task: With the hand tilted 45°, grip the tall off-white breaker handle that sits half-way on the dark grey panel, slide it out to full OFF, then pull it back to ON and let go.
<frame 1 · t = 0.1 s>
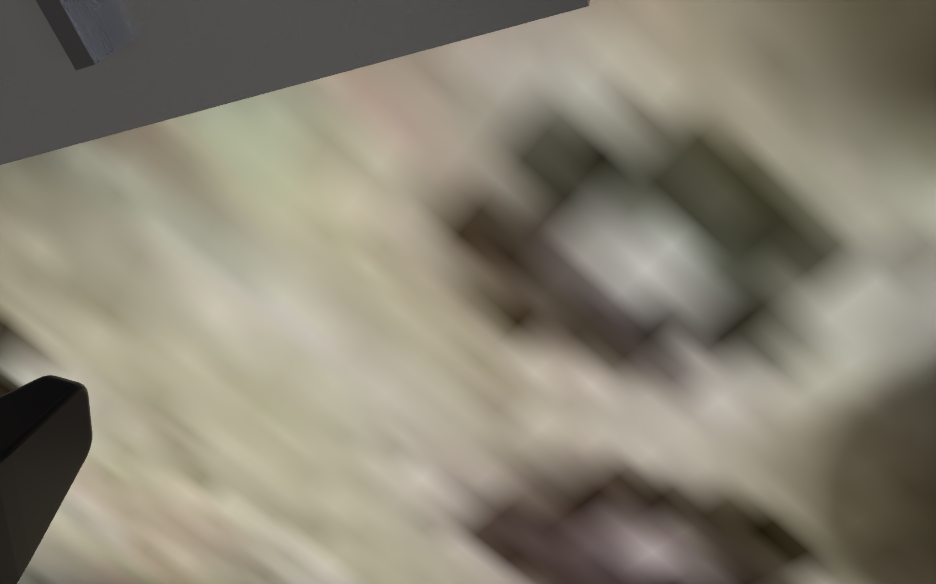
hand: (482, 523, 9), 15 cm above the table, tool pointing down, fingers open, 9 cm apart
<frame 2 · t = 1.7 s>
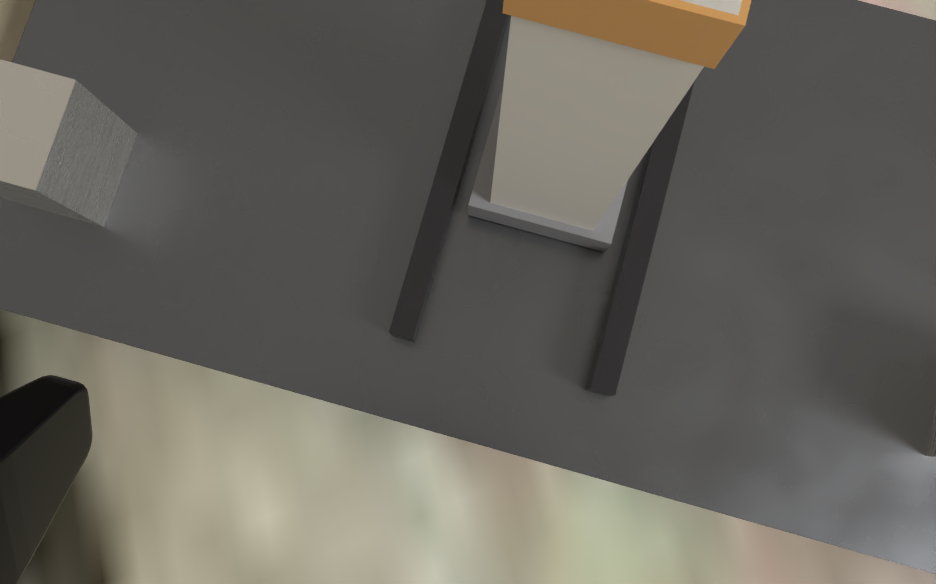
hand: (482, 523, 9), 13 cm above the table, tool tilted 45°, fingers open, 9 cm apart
breaker handle: (583, 87, 16), point 8 cm above the table, slide at 3.0 cm
breaker panel: (545, 194, 23), on the table
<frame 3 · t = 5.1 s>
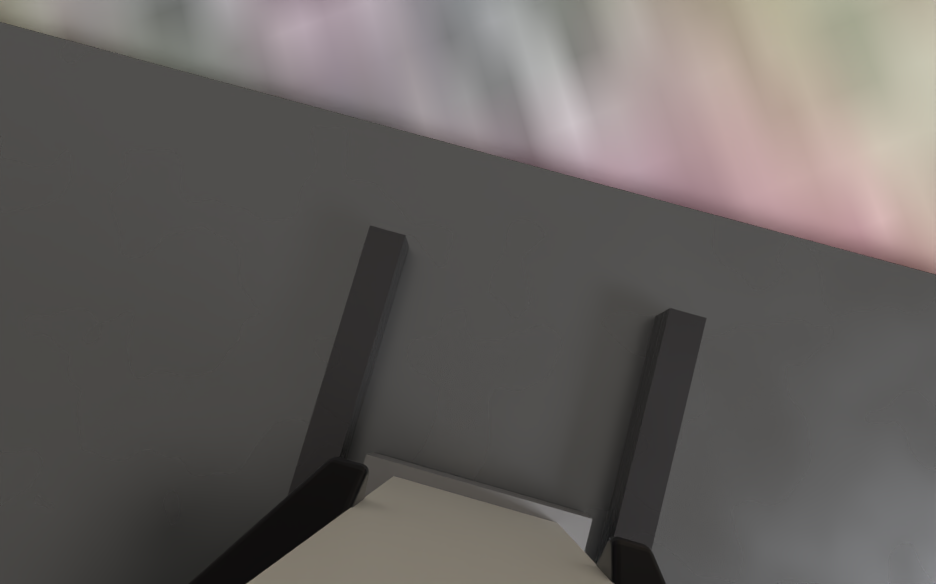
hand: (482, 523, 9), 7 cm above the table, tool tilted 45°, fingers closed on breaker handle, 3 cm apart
breaker panel: (454, 557, 15), on the table
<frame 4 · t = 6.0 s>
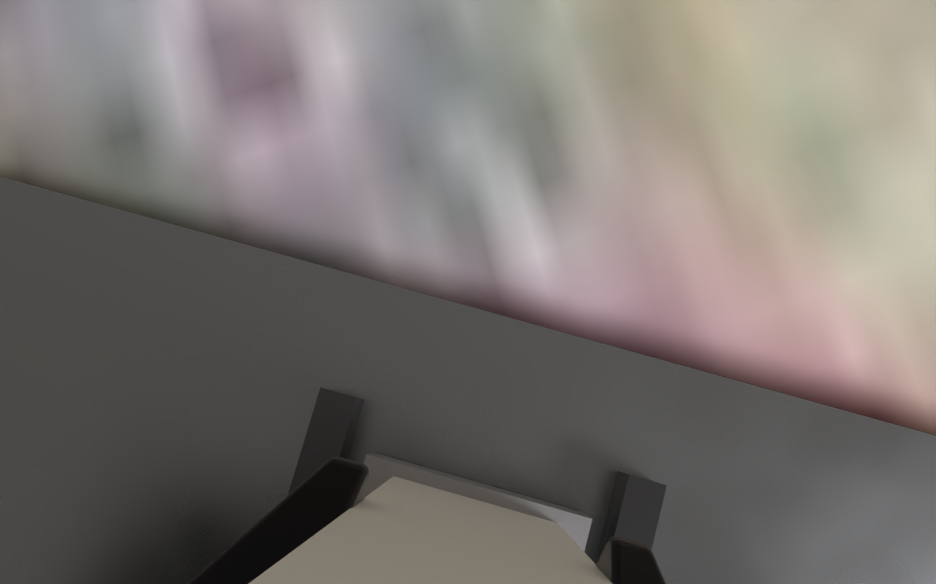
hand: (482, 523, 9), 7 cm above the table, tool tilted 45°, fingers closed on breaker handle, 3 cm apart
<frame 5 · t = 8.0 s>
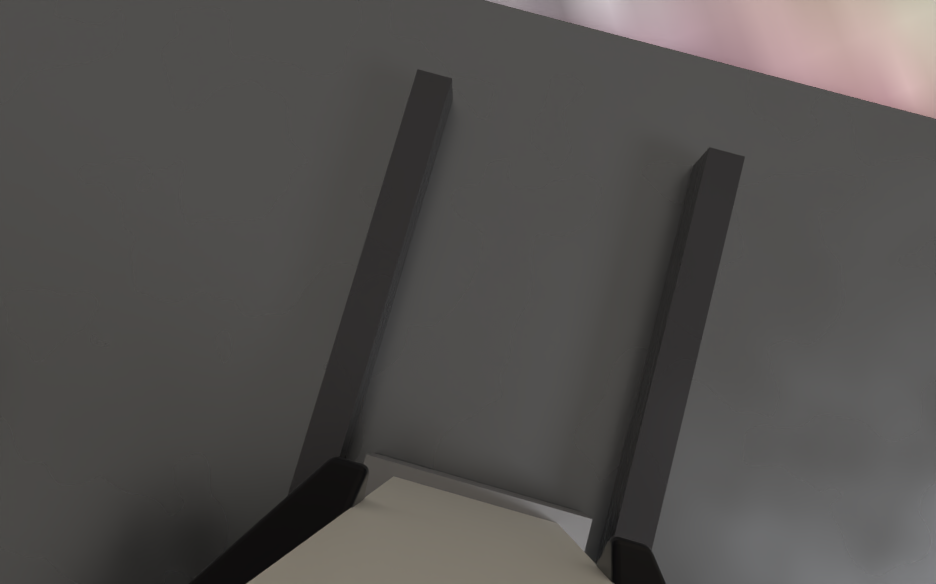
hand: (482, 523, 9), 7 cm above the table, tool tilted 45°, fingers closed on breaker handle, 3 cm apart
breaker panel: (494, 408, 16), on the table
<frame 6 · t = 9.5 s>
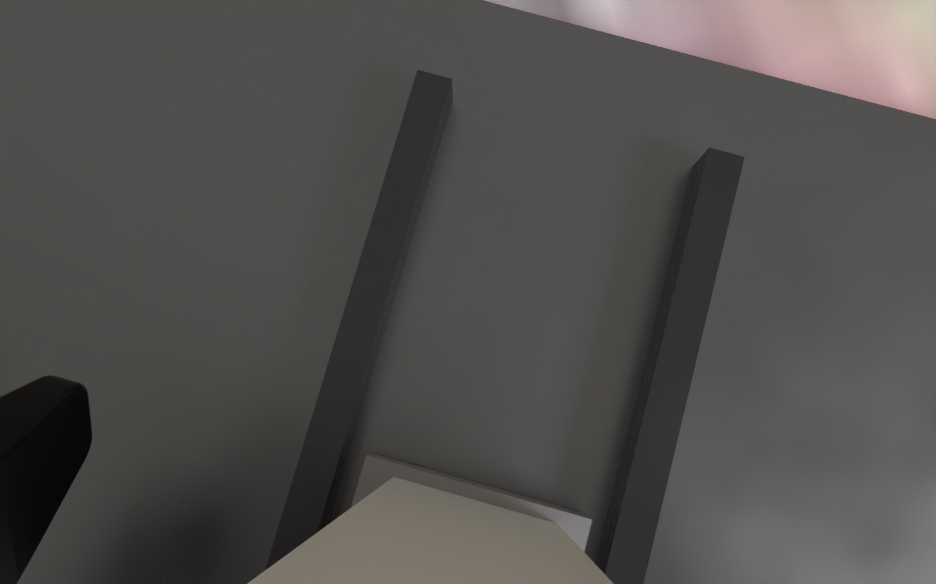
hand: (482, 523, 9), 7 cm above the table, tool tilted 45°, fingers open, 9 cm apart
breaker panel: (494, 408, 16), on the table
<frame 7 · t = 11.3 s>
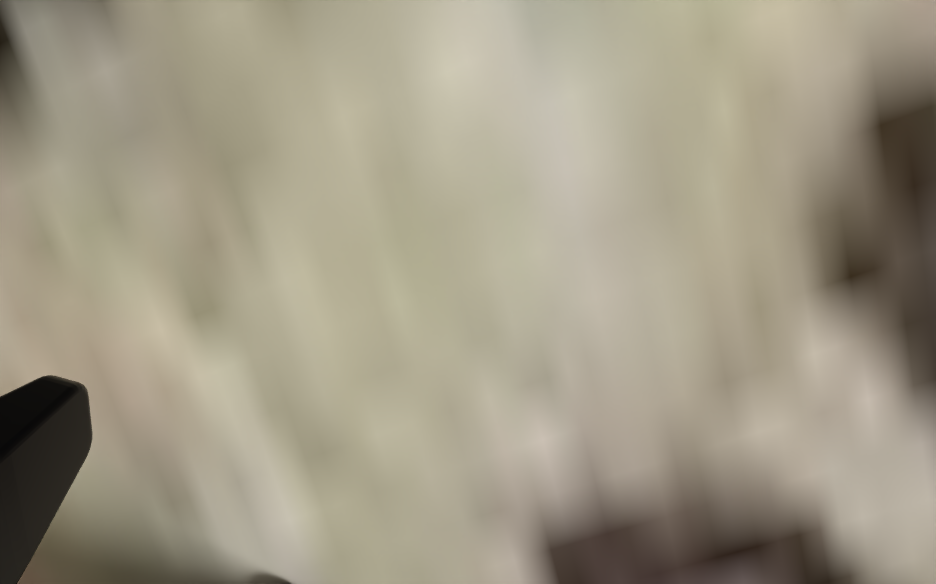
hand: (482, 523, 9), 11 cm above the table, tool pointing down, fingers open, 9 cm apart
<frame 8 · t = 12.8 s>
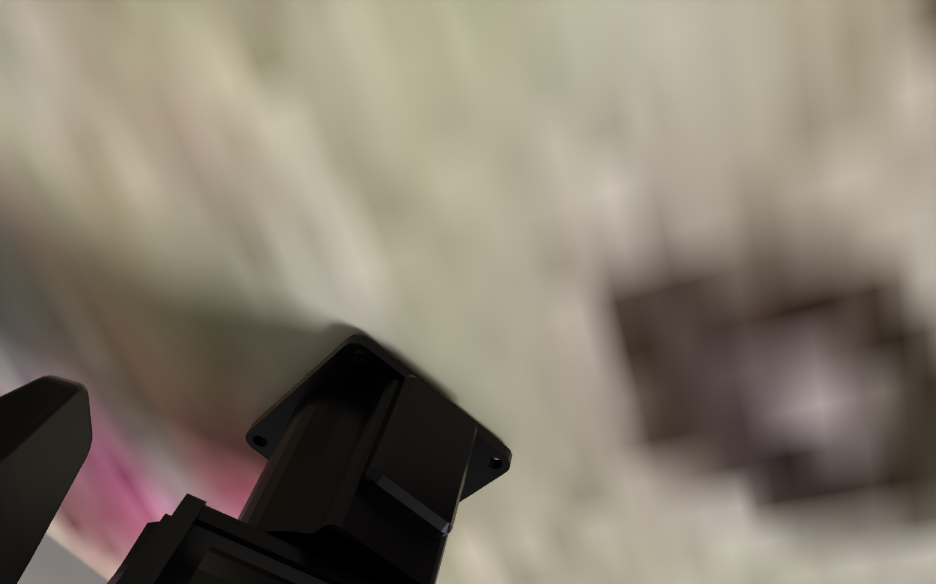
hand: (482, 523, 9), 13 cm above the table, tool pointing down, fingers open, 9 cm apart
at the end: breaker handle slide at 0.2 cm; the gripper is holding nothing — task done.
